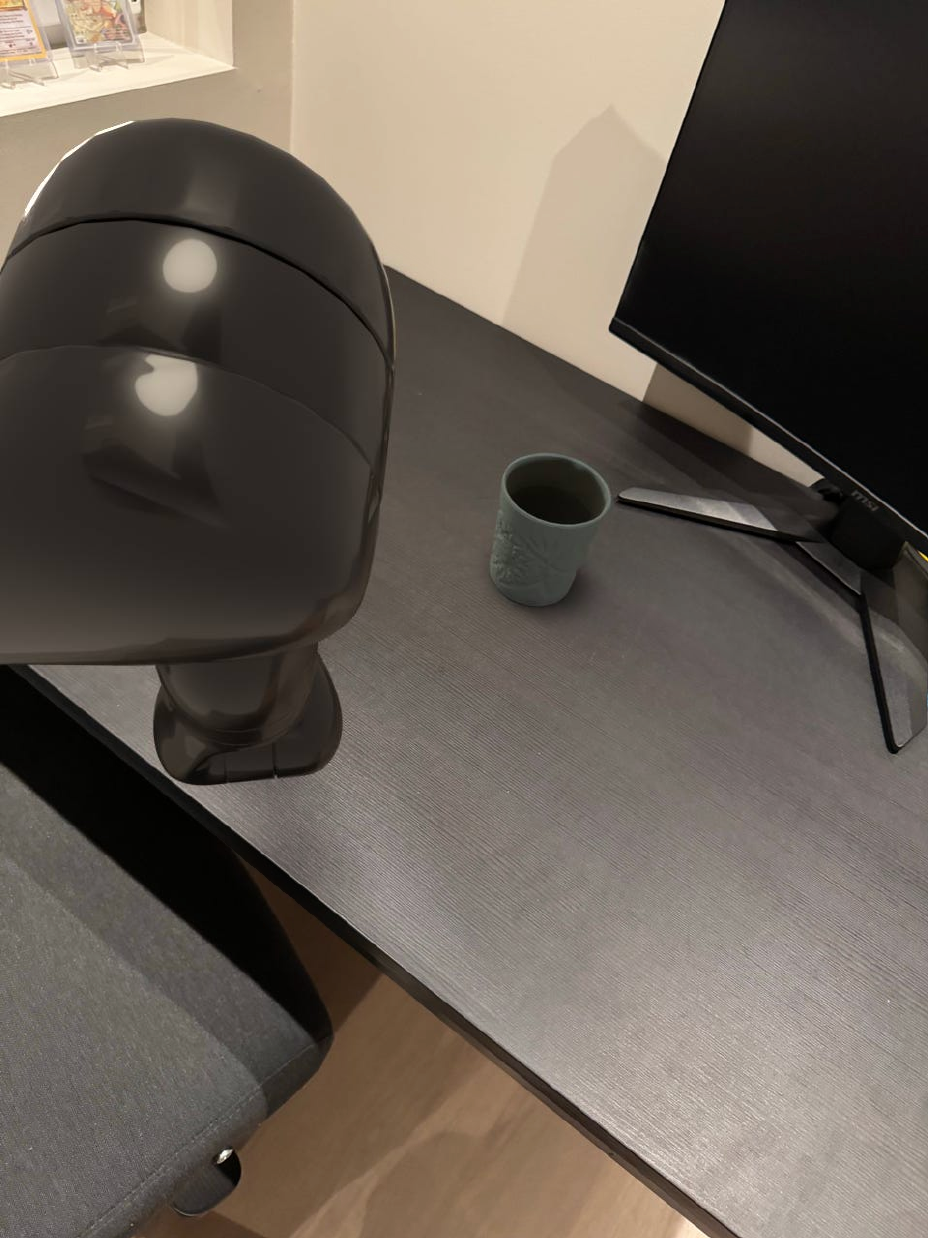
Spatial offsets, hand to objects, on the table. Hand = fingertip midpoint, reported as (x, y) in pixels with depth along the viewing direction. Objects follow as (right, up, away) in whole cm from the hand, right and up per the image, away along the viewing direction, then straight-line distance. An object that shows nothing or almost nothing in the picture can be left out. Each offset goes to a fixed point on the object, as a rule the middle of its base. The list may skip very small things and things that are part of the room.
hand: (235, 380), depth 70 cm
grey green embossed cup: (+26, -16, +16) cm, 34 cm away
